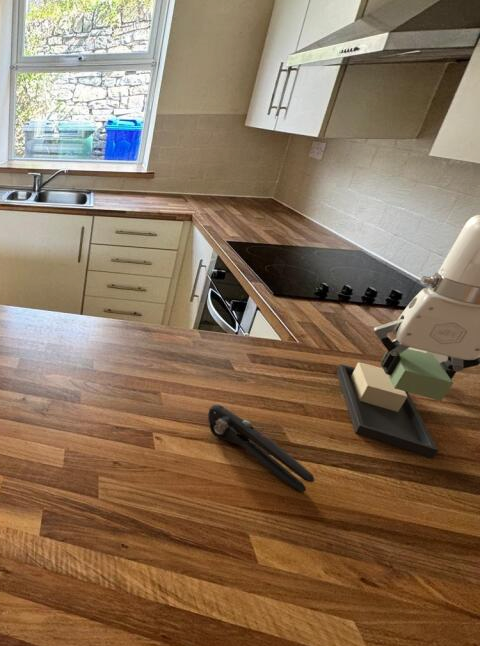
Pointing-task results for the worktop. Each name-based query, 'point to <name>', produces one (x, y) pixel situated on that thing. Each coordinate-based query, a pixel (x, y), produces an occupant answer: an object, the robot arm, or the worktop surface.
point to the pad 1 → (376, 387)
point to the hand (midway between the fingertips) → (410, 376)
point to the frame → (386, 420)
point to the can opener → (240, 433)
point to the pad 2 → (420, 375)
